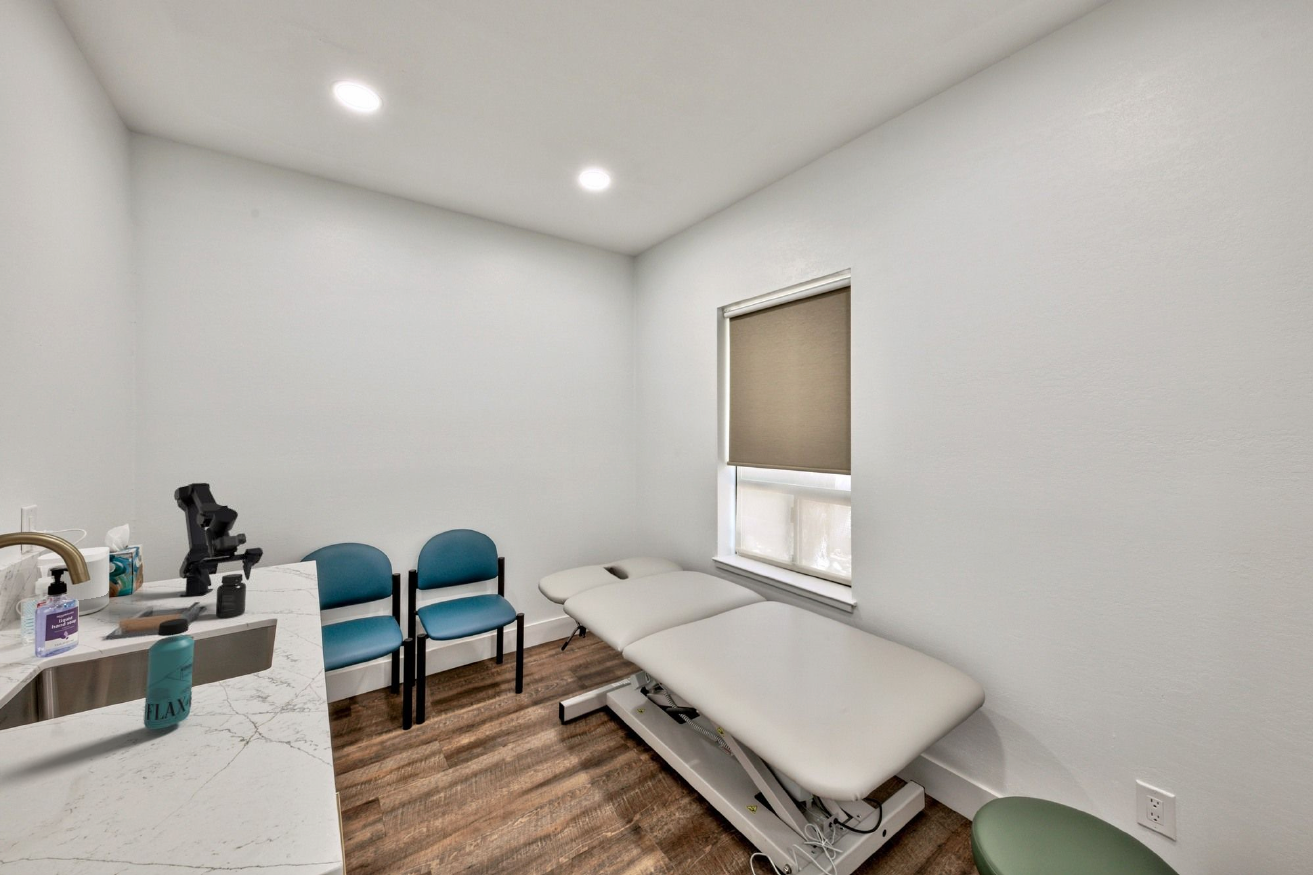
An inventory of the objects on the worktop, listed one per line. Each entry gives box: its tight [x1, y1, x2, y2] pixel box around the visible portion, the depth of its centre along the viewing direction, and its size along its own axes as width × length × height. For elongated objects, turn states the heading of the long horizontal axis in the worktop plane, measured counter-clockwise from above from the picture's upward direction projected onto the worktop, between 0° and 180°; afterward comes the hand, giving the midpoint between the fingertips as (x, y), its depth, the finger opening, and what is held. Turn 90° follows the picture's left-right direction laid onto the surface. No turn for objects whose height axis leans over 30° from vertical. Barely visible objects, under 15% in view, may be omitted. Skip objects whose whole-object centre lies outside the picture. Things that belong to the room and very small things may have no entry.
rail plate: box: [106, 601, 207, 640], centre depth 142 cm, size 20×15×4 cm
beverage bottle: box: [142, 619, 195, 730], centre depth 94 cm, size 6×7×20 cm
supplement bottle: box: [215, 573, 247, 619], centre depth 151 cm, size 7×7×12 cm
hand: (229, 582), depth 153 cm, fingers open, 9 cm apart
